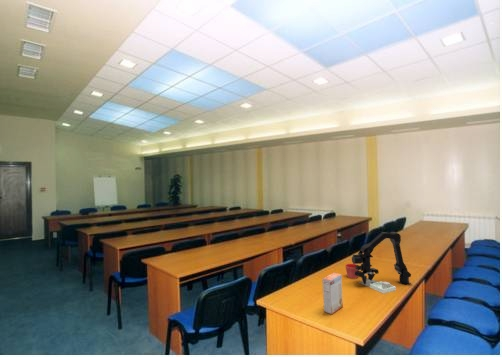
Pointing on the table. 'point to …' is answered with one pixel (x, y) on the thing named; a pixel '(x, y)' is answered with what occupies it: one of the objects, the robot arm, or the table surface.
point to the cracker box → (332, 293)
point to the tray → (378, 287)
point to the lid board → (371, 282)
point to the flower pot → (351, 270)
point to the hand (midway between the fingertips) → (367, 283)
